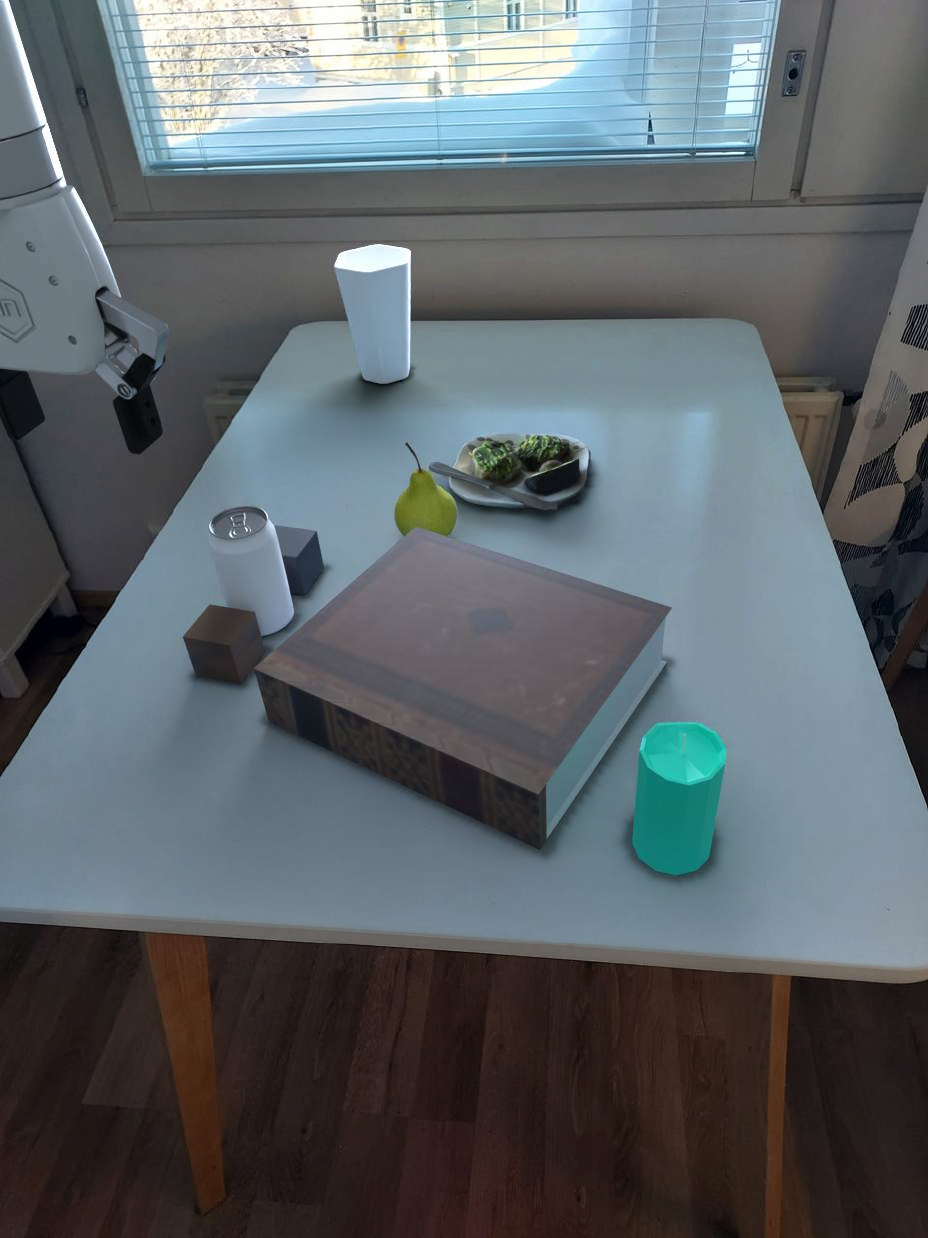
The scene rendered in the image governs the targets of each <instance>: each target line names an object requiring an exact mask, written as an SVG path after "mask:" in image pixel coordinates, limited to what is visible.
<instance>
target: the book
mask: <svg viewBox="0 0 928 1238" xmlns="http://www.w3.org/2000/svg"><path fill="white" fill-rule="evenodd" d="M672 609H673V607H672V606H668V605H665V604H662V603H660V602H656V601H653V600H650V599H647V598H644V597H641V596H636V595H634V594H631V593H628V592H624V591H621V590H618V589H615V588H611V587H608V586H605V585H603V584H599V583H596V582H593V581H589V580H586V579H583V578H580V577H577V576H574V575H570V574H568V573H564V572H562V571H558V570H554V569H551V568H548V567H545V566H542V565H540V564H539V565H538V564H535V563H532V562H529V561H526V560H523V559H520V558H517V557H512V556H511V555H508V554H505V553H500V552H497V551H494V550H491V549H488V548H485V547H482V546H478V545H475V544H472V543H469V542H466V541H462V540H459V539H456V538H454V537H450V536H448V537H447V536H444V535H441V534H437V533H434V532H431V531H428V530H425V529H422V528H418V527H415V528H414V529H412V530H411V531H410V532H409V533H408V534H407V535H406V536H403V537H402V538H401V539H399V540H398V541H397V542H396V543H395V544H394V545H392V546H391V548H389V549H388V550H387V551H386V552H385V553H384V554H382V556H380V557H379V558H378V559H377V560H376V561H374V563H372V564H371V565H370V566H369V567H367V569H365V570H364V571H363V572H362V573H360V574H359V575H358V576H357V577H356V578H355V579H354V580H353V581H352V582H350V583H349V584H348V585H347V586H346V587H345V588H343V589H342V590H341V591H340V592H339V593H338V594H337V595H336V596H334V597H333V598H332V599H331V600H330V601H329V602H328V603H326V604H325V605H324V606H323V607H322V608H321V609H319V610H318V611H317V613H315V614H314V615H313V616H312V617H311V618H309V619H308V620H307V621H306V622H305V623H304V624H302V625H301V626H300V627H299V628H298V629H297V630H295V631H294V632H293V633H292V634H291V635H290V636H289V637H287V639H286V640H284V641H283V642H282V643H281V644H280V645H279V646H277V647H276V648H275V649H274V650H272V652H271V653H270V654H268V655H267V656H266V657H265V658H264V659H262V660H261V661H260V662H259V663H258V664H256V665H255V666H254V667H253V671H254V674H255V679H256V681H257V685H258V689H259V692H260V696H261V699H262V703H263V707H264V709H265V713H266V714H265V715H266V716H267V720H268V722H269V723H271V724H272V725H275V726H277V727H280V728H282V729H284V730H286V731H288V732H290V733H292V734H294V735H297V736H298V737H301V738H302V739H304V740H306V741H309V742H311V743H312V744H315V745H318V746H319V747H322V748H324V749H326V750H328V751H329V752H332V753H334V754H336V755H339V756H341V757H343V758H344V759H347V760H349V761H352V762H353V763H355V764H358V765H360V766H362V767H364V768H366V769H368V770H370V771H373V772H374V773H376V774H379V775H381V776H383V777H385V778H387V779H389V780H391V781H394V782H396V783H398V784H400V785H402V786H404V787H406V788H408V789H410V790H412V791H415V792H417V793H419V794H421V795H423V796H426V797H428V798H429V799H432V800H434V801H435V802H438V803H440V804H442V805H444V806H446V807H448V808H451V809H452V810H454V811H457V812H459V813H461V814H463V815H465V816H468V817H470V818H472V819H474V820H476V821H479V822H480V823H482V824H484V825H487V826H488V827H491V828H493V829H495V830H497V831H499V832H501V833H504V834H506V835H507V836H510V837H512V838H514V839H516V840H518V841H520V842H522V843H525V844H526V845H529V846H531V847H533V848H536V849H537V850H541V848H542V847H543V846H544V844H545V842H546V841H547V840H548V839H549V838H550V837H549V836H550V835H551V834H552V832H553V831H554V830H555V828H556V826H557V825H558V824H559V822H560V820H561V819H562V817H563V816H564V814H565V813H566V812H567V810H568V809H569V807H570V806H571V804H572V803H573V801H574V800H575V799H576V797H577V795H578V794H579V793H580V791H582V788H583V786H584V785H585V784H586V782H587V781H588V779H589V778H590V776H591V775H592V774H593V772H594V770H595V769H596V767H597V766H598V764H599V763H600V761H601V760H602V759H603V757H604V756H605V754H606V753H607V752H608V750H609V748H610V747H611V745H612V744H613V742H614V741H615V740H616V738H617V737H618V735H619V734H620V732H621V730H622V729H623V727H624V726H625V725H626V723H627V722H628V720H629V719H630V718H631V716H632V715H633V713H634V712H635V710H636V708H637V707H638V705H639V704H640V702H642V700H643V698H644V697H645V695H646V694H647V693H648V691H649V690H650V688H651V686H652V685H653V684H654V682H655V680H656V679H657V677H658V676H659V675H660V673H661V672H662V670H663V669H664V667H665V666H666V665H667V663H668V662H667V661H665V660H662V659H663V648H664V637H665V627H666V618H667V616H668V614H669V613H670V612H671V611H672Z"/></svg>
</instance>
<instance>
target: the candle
mask: <svg viewBox="0 0 928 1238" xmlns="http://www.w3.org/2000/svg"><path fill="white" fill-rule="evenodd" d="M727 753H728V748H727V747H726V744H725V743H724V742H723V740H722V738H721V736H720V734H719V732H718V731H715V730H713V728H712V729H711V728H710V727H709V726H706V725H705V724H703V723H701V722H697V721H695V722H693V721H673V722H672V721H671V722H656V723H655V724H654V725H653V726H652V728H650V729H649V730H648V732H646V733H645V734H644V735H643V736H642V739H641V743H640V747H639V752H638V763H637V764H638V766H637V777H636V790H635V800H634V801H635V802H634V812H633V813H634V815H633V824H632V825H633V827H632V839H631V844H632V845H633V848H634V850H635V852H636V854H637V857H638V860H640V861H641V862H643V863H644V864H646V865H647V866H648V867H649V868H651V869H653V870H654V871H655V872H659V873H662V874H663V873H664V874H667V875H668V874H669V875H672V876H680V875H684V874H688V873H692V872H697V871H698V870H699V869H700V868H701V867H702V866H703V865H704V864H705V863H707V861H708V860H709V859H710V855H711V849H712V844H713V838H714V832H715V827H716V821H717V820H716V819H717V814H718V808H719V802H720V797H721V791H722V785H723V779H724V773H725V767H726V759H727Z"/></svg>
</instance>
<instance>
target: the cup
mask: <svg viewBox="0 0 928 1238" xmlns="http://www.w3.org/2000/svg"><path fill="white" fill-rule="evenodd" d="M411 254H412V253H411V250H410V249H408V248H405V247H398V246H392V245H387V244H371V245H367V246H362V247H358V248H355V249H349V250H344V251H342V252H340V253H339V254H338V255H337V258H336V260H335V262H334V264H333V269H334V273H335V276H336V280H337V285H338V287H339V288H338V289H339V292H340V296H341V299H342V304H343V307H344V310H345V315H346V318H347V322H348V326H349V330H350V333H351V337H352V341H353V344H354V348H355V353H356V356H357V360H358V364H359V367H360V372H361V375H362V379H363V380H365V381H367V382H372V383H377V384H381V385H383V384H384V385H385V384H390V383H394V382H398V381H400V380H405V379H406V378H408V377H409V374H410V369H411V259H412V258H411V257H412V256H411Z"/></svg>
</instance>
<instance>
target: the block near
mask: <svg viewBox="0 0 928 1238" xmlns="http://www.w3.org/2000/svg"><path fill="white" fill-rule="evenodd" d="M182 639H183V642H184V645H185V648H186V651H187V654H188V657H189V660H190V663H191V666H192V669H193V672H194V674H195V676H196V677H201V678H206V679H211V680H216V681H222V682H226V683H232V684H236V685H242V684H243V683H244V681H245V680H246V679H247V677H248V676H249V674H250V673H251V671H252V670H254V668H255V667H256V665H257V663H258V662H259V660H260V659H261V658H262V656H263V655H264V654H265V652H266V647H265V645H264V641H263V637H262V636H261V633H260V629H259V625H258V621H257V618H256V614H255V612H253V611H247V610H241V609H235V608H229V607H226V606H223V605H217V604H211V603H210V604H208V606H207V607H206V608H205V609H204V610H203V612H201V614H200V615H199V616H198V618H197V619H196V620H195V621H194V622H193V624H191V626H190V627H189V628H188V629H187V630H186V632H185V633H184V635H182Z"/></svg>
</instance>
